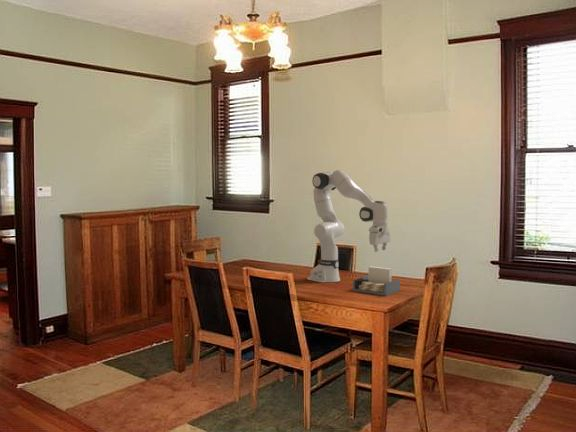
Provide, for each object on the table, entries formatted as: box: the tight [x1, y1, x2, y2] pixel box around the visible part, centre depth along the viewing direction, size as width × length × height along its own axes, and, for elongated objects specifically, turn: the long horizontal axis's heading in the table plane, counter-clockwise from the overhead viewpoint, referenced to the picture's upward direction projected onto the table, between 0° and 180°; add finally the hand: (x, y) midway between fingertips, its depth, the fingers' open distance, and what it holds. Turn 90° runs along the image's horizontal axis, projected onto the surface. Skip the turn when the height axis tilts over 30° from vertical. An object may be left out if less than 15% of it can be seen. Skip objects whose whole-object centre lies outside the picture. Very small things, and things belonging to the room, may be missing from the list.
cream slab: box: [367, 265, 392, 284], centre depth 327 cm, size 14×3×12 cm, turn 52°
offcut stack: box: [359, 281, 384, 292], centre depth 321 cm, size 16×6×4 cm, turn 52°
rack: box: [352, 274, 401, 297], centre depth 324 cm, size 22×18×7 cm
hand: (380, 250), depth 326 cm, fingers open, 8 cm apart
